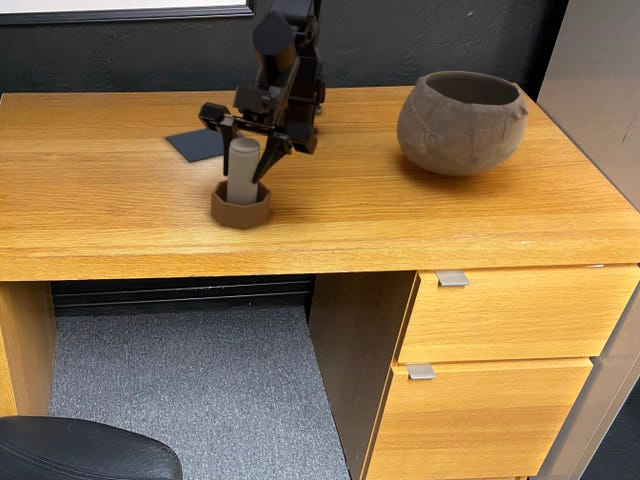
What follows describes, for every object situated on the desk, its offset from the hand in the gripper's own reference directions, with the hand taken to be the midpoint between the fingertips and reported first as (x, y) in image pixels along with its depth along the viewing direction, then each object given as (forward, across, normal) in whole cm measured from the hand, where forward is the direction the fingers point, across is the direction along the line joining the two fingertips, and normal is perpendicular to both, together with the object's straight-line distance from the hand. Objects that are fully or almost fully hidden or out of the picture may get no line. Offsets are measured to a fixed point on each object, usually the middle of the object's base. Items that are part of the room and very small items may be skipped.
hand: (239, 179), depth 109 cm
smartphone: (-29, -8, +40) cm, 50 cm away
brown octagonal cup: (+4, 0, +6) cm, 7 cm away
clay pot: (-19, +27, +29) cm, 44 cm away
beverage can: (+4, 0, +6) cm, 7 cm away
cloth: (-10, -16, +20) cm, 28 cm away
